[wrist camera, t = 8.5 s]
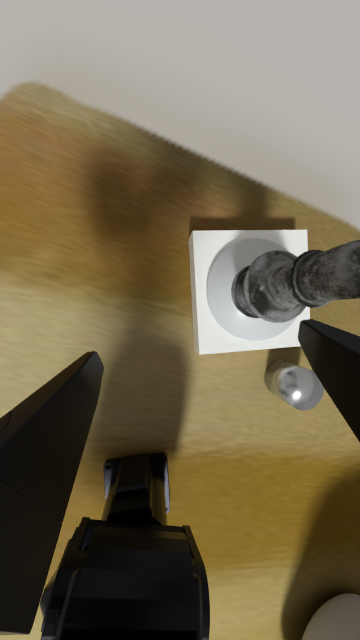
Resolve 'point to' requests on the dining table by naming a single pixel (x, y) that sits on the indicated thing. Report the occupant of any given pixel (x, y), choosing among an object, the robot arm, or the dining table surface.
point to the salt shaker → (296, 282)
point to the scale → (216, 282)
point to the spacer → (294, 384)
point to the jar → (336, 619)
